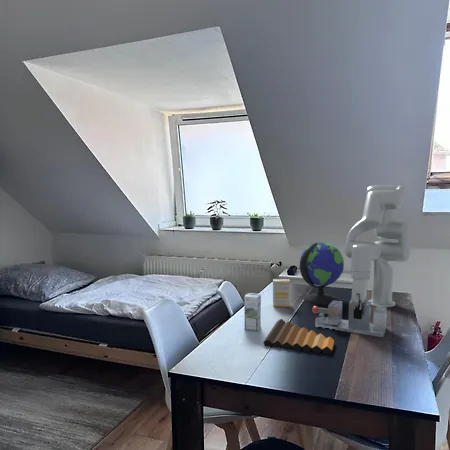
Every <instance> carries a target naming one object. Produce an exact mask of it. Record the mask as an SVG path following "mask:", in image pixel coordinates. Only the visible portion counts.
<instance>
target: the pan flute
mask: <svg viewBox="0 0 450 450" xmlns="http://www.w3.org/2000/svg"><path fill="white" fill-rule="evenodd" d="M334 345H335V339H333V338H332V337H331V336H328V337H326V336H325V335H323V334H322V333H321V332H320V333H319V334H318V333H316V332H315V330H313V329H311V330H310V331H309V329H307V328H306V327H305V326H304V327H300V326H299V325H298V324H294V325H293V323H292V322H291V321H287V322H286V321H285V320H284V319H283V318H280V319H278V320H277V321H276V322H275V324H274V325H273V327H272V328H271V330H270V332H269V333H268V334H267V336H266V337H265V339H264V340H263V346H264V347H267V348H272V347H273V348H276V349H282V348H283V349H284V350H291V349H292V350H293V351H298V352H299V351H301V350H302V352H305V353H307V352H308V353H310V352H311V351H312V353H315V354H321V352H322V354H324V355H331V354H332V352H333V348H334Z"/></svg>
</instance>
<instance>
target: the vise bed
mask: <svg viewBox="0 0 450 450" xmlns="http://www.w3.org/2000/svg"><path fill="white" fill-rule="evenodd" d="M387 309H388V307H379V306H375V309H374V311H373V317H372V318H373V323H371V322H370V327H369V329H363V328H356V327H349V326H348V321H349V319H343V318H342V319H341V321H340V322H339V324H338V325H334V324H328V316H327V317H325V313H318V315H317V316H316V317H315V321H314V324H315V328H318V327H322V328H321V329H325V328H329V329H328V330H332V329H335V330H334V331H339V330H340V332H345V331H346V333H353V334H361V335H365V336H366V335H367V336H373V337H380V338H384V336H385V333H386V330H387V320H388V319H387V315H388V311H387Z"/></svg>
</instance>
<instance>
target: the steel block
mask: <svg viewBox="0 0 450 450" xmlns="http://www.w3.org/2000/svg"><path fill="white" fill-rule="evenodd" d="M354 303H355V302H353V303H352V302H351V300H349V302H348V320H349V321H348V326H349V327H356V328H363V329H369V327H370V323H371V320H372V319H371V313H372V311H371V310H372V305H371V302H368V300H367V301H365V302H364V303H363V304H362V308H361V309H362V319H354V318H353V315H354ZM359 305H360V304H359Z"/></svg>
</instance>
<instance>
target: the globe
mask: <svg viewBox="0 0 450 450" xmlns="http://www.w3.org/2000/svg"><path fill="white" fill-rule="evenodd" d="M344 260H345V259H344V257H343V254H342V252H341V251H340V250H339V249H338V248H337V247H336V246H335V245H332V243H328V242H314V243H312V244H310V245H308V247H306V248H305V249H304V251H303V252H302V254H301V255H300V258H299V272H300V274H301V277H302V278H303V280H304V281H305V283H306V284H308V285H309V286H311V287H313V288H316V289H318V290H317V293H316V292H315V293H314V292H313V293H309V294H306V295H305V296H304V298H303V301H305V303H309V304H314V305H324V306H325V305H326V306H328V305H329V304H330V303H331V302H332V301H333V300H334V301H339V299H338V297H337V296H335V295H332V294H329V293H325V290H324V288H326V287H328V285H332V284H333V283H335V282H336V281H337V280H338V279H339V278H340V277H341V275H342V274H343V272H344V268H345V261H344ZM327 304H328V305H327Z"/></svg>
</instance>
